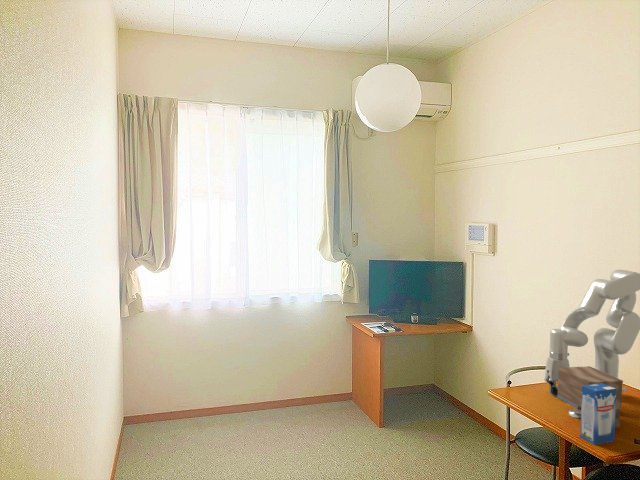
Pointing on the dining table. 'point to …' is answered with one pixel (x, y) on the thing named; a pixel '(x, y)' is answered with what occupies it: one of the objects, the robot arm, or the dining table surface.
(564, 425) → the dining table surface
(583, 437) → the milk carton
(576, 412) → the steel token
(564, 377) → the cabinet
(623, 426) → the dining table surface
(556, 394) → the gray rectangular bar
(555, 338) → the robot arm
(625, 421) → the dining table surface
